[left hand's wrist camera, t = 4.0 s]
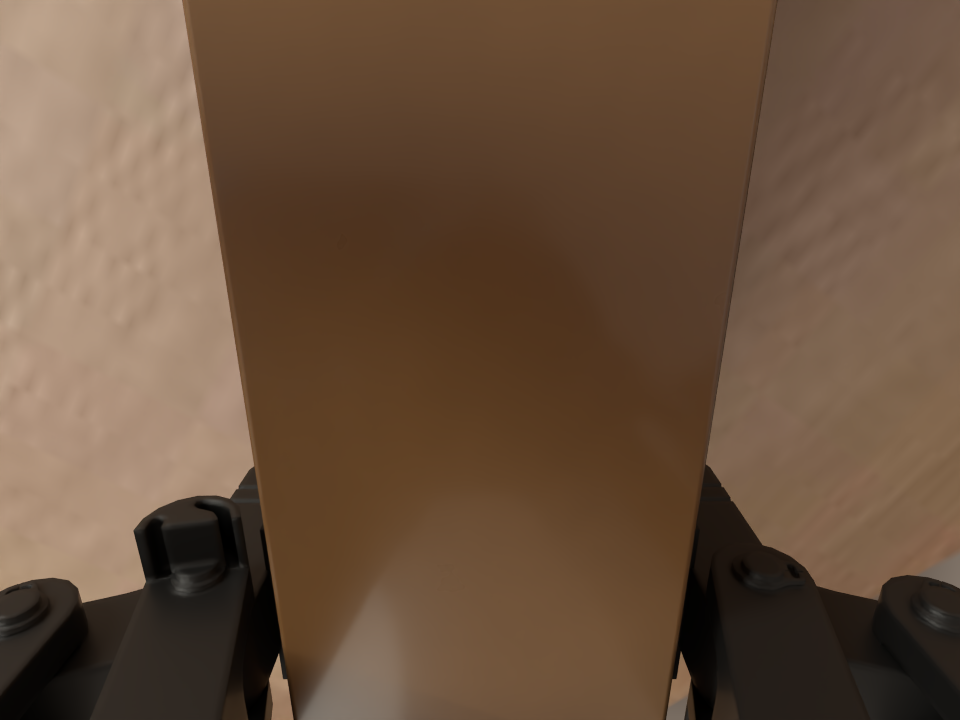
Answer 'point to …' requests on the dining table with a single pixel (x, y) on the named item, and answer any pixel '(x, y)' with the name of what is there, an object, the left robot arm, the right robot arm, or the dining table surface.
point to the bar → (479, 332)
